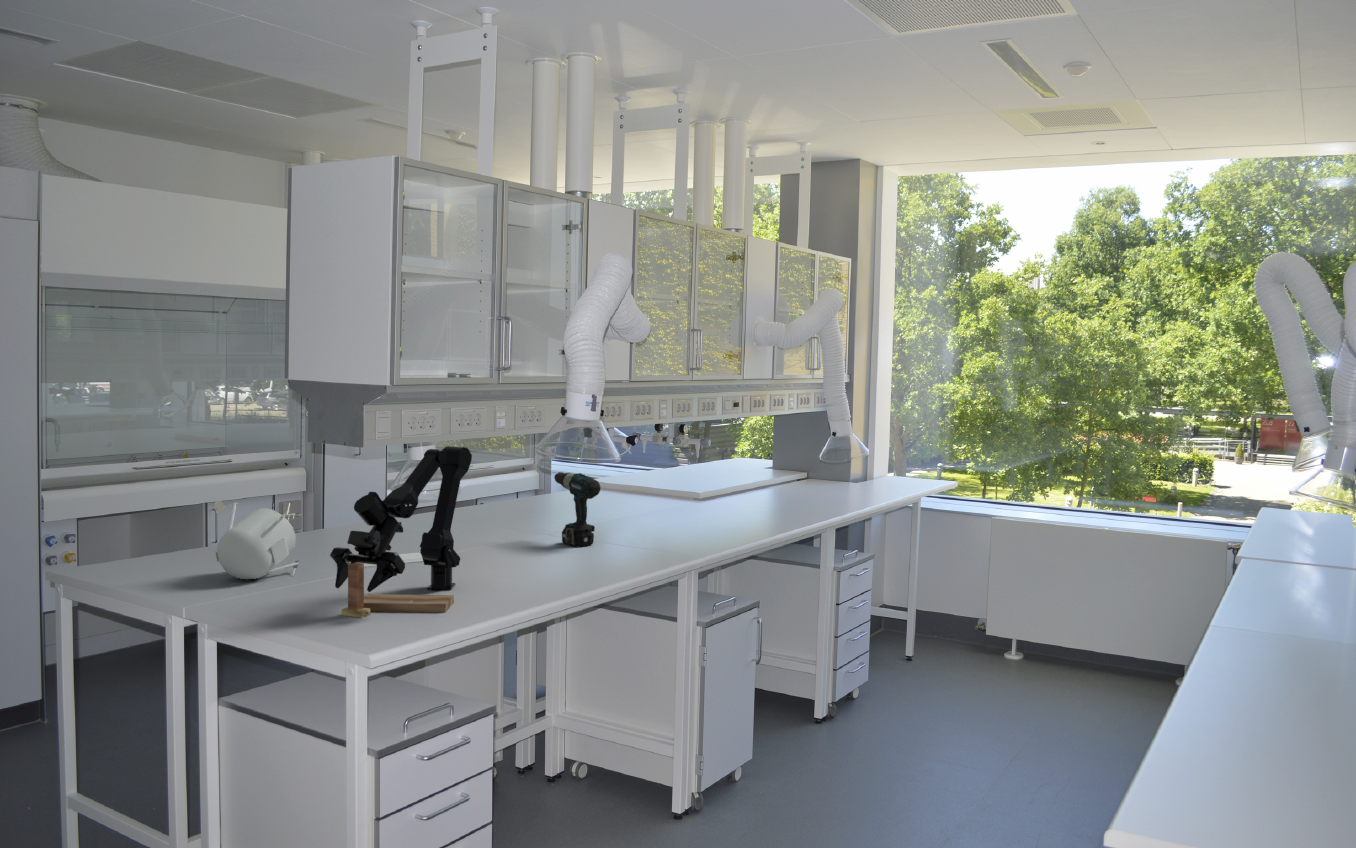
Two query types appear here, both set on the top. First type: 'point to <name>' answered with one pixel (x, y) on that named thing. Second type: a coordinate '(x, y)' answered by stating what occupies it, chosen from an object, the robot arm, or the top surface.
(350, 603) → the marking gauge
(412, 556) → the baseboard molding
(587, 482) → the power drill
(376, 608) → the tan wooden flat board
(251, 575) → the satellite
